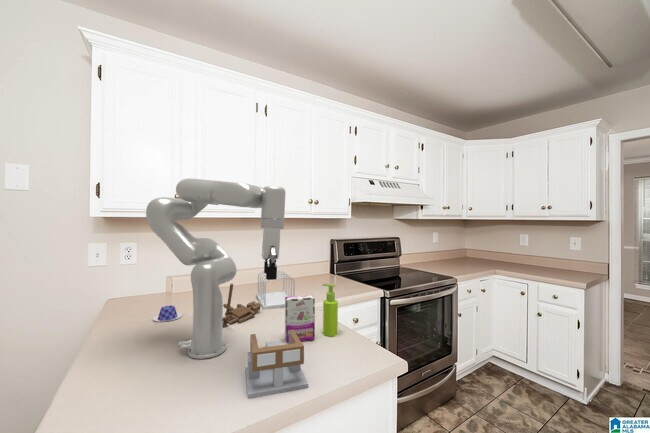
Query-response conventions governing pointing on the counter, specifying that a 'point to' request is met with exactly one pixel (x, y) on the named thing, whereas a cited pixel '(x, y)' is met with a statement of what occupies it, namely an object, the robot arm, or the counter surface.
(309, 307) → the candy bar box
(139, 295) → the counter surface
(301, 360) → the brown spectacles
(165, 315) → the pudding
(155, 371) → the counter surface
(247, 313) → the wooden figure
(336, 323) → the soap dispenser
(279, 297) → the file sorter
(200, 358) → the robot arm
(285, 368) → the grey post plate
